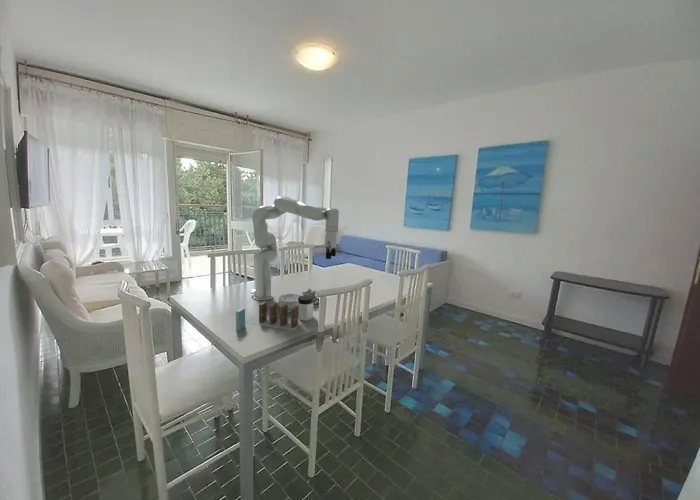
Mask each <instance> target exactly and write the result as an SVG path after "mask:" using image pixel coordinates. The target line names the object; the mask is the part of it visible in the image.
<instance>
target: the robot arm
mask: <svg viewBox="0 0 700 500" xmlns="http://www.w3.org/2000/svg"><path fill="white" fill-rule="evenodd" d="M285 213H288V214H292V215H297V216H298V217H302V218H304V219H308V220H312V221H317V222H318V221H323V220H325V238H324V249H325V260H331V259H332V257H336V254H337V241H338V240H337V239H338V238H337V237H338V236H337V235H338V234H337V233H338V232H339V217H340V215H339V214H340V212H339V209H338V208H330V207H329V208H326V207H315V206H312V205H308V204H304V203H303V202H302V201H301V200H296V199H292V198H291V197H289V196H277V197H276V198H274V201H273V204H272V205H261V206H258V207H257V208H256V209H254V211H253V213H252V217H251V219H252V226H253V234H254V235H253V237H254V243H255V246H256V247H257V248H259V249H261V250H259V251H257V252H256V253H255V254H254V257H253V258H254V259H253V260H254V265H255V289H251V291H250V294H253V296H252V297H253V299H254V300H256V301H270V300H272V299H273V298H274V294H273V293H272V270H271V269H272V268H271V265H270V264H271V263H272V262H275V261H276V260H277V258H278V249H277V248H278V245H277V239H276V236H275V235H274V234H273V233H272V232H270V231H269V228H268V223H267V221H266V220H274V219H277V218H279V217H280V216H281V217H282V215H284V214H285Z"/></svg>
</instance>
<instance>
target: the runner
mask: <svg viewBox="0 0 700 500" xmlns="http://www.w3.org/2000/svg"><path fill="white" fill-rule="evenodd" d="M269 319H270V317H268V316H267V320H266V321H264V322H263V323H259V315H254V314H253V315H251V316H249V317H248V318H247V319H245V324H248V325H249V324H250V325H255V326H256V325H257V326H263V327H269V328H277V329H281V330H287V331H295V330H297V329H298V327H299V326H300V325H301V324H302V322H300V321H298V325H297V326H296V327H295V328H291V320H288V323H287V324H285V325H284V326H280V318H277V322H275V323H274V324H273V325H271V324H269Z"/></svg>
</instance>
